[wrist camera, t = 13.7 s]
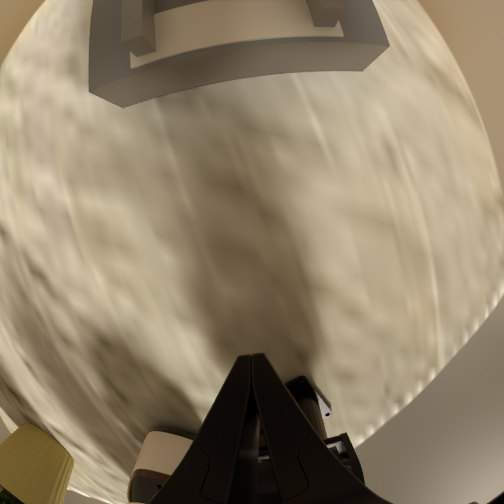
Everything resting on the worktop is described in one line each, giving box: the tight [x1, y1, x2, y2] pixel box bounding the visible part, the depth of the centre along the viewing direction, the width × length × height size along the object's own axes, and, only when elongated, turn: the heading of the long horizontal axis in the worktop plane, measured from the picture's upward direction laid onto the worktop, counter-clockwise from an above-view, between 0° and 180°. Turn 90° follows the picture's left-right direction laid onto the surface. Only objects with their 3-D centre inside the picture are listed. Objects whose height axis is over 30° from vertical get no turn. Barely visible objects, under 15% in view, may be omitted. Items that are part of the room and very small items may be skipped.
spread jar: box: [127, 428, 196, 504], centre depth 21 cm, size 12×11×12 cm
